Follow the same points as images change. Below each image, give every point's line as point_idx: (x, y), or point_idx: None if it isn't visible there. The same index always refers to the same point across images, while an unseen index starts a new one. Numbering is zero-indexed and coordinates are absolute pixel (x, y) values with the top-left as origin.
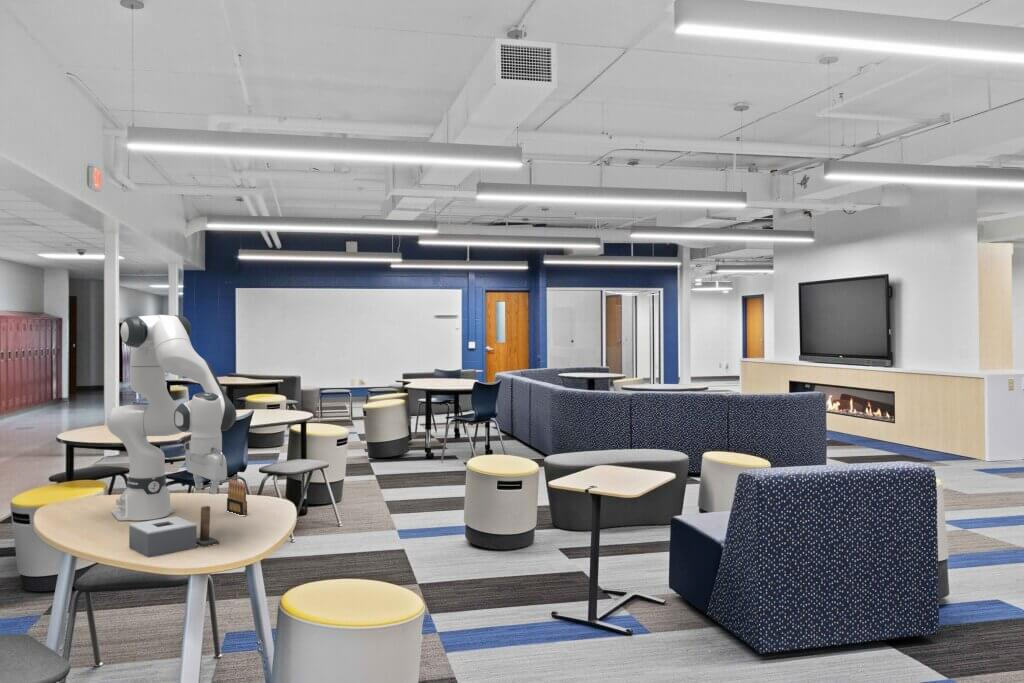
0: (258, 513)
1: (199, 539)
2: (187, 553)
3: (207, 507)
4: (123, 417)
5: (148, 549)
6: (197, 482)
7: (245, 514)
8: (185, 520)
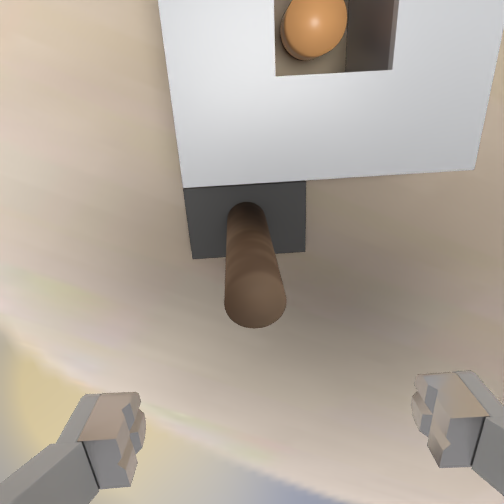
0: None
1: (268, 205)
2: (122, 91)
3: (231, 306)
4: None
5: None
6: (486, 433)
7: None
8: (326, 170)
